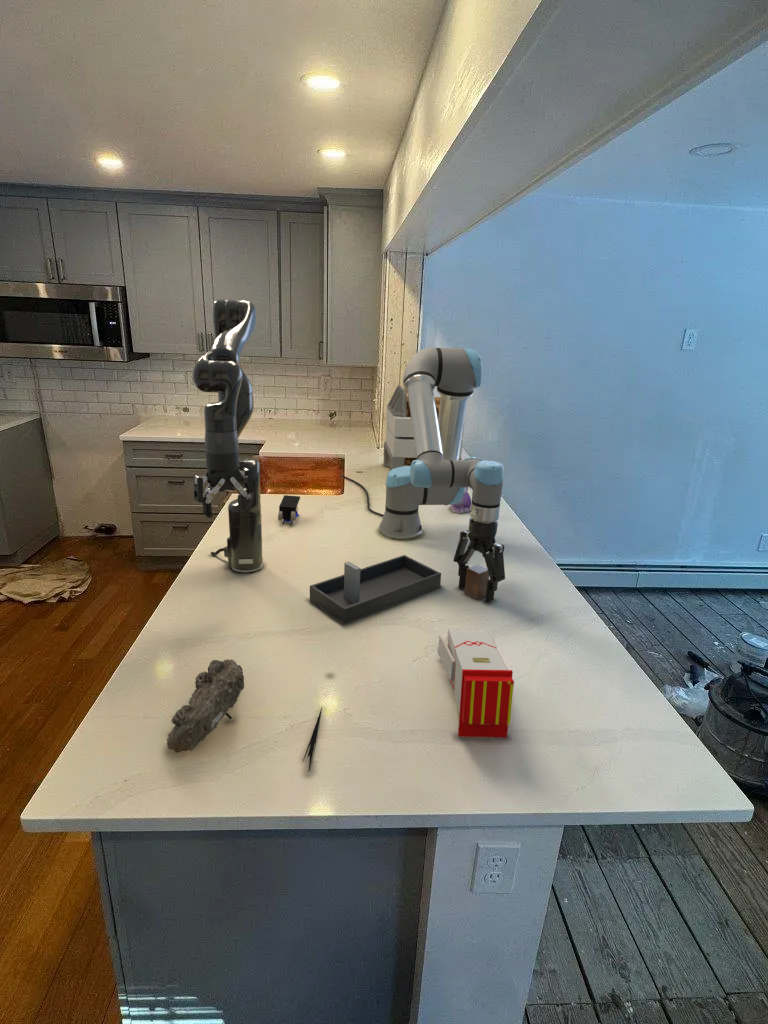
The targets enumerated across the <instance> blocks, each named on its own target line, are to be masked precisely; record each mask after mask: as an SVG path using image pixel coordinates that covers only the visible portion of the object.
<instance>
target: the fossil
mask: <svg viewBox="0 0 768 1024" xmlns="http://www.w3.org/2000/svg"><path fill="white" fill-rule="evenodd" d="M243 670H244V669H243V667H242V665H240V664H237V662H236V661H235V660H234V659H232V658H231V659H227V658H226V659H224V660H223V661H222V660H217V659H212V660H211V661H210V663H209V665H208V666H207V671H201V672H199V673H198V674H197V675H196V676H195V680H194V684H195V685H194V687H195V689H194V690H193V693H192V694H191V697H190V698H189V700H188V704H184V705H182V706H181V707H180V709H177V710H176V711H175V713H174V715H173V716H172V718H171V723H172V724H173V727H172V730H171V731H170V732H168V734H167V738H166V741H167V742H166V745H167V749H168V750H169V751H173V752H174V753H176V754H178V753H182V752H188V751H189V752H192V751H193V750H195V748H196V747H197V746H199V744H200V743H201V742H203V741H204V740H205V739H206V738H207V737H208V736H209V735H210V734H211V733H212V732H214V730H215V729H217V727H218V726H219V724H220V722H221V721H222V720H223V719H224V718H225V716H226V717H227V719H229V720H233V717H232V715H230V714H229V710H230V709H231V708H234V706H235V704H236V703H237V702H238V699H239V697H240V695H241V693H242V691H243V690H245V689H244V688H245V675H244V671H243Z"/></svg>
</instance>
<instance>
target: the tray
mask: <svg viewBox="0 0 768 1024" xmlns="http://www.w3.org/2000/svg"><path fill="white" fill-rule="evenodd" d="M343 564H344V565H343V566H344V568H343V571H344V572H343V574H341V575H338V576H335V577H331V578H329V579H326V580H323V581H319V582H317V583H314V584H311V585H309V601H310V602H312V603H313V604H315V605H316V606H318V607H319V608H320V609H322V610H323V611H325V612H326V613H328V614H329V615H330V616H332V617H333V618H334V619H336V620H337V621H339V622H340V623H342V624H343V625H347V624H349V623H351V622H353V621H357V620H359V619H362V618H364V617H366V616H369V615H371V614H374V613H377V612H380V611H382V610H384V609H387V608H390V607H393V606H395V605H398V604H400V603H402V602H405V601H408V600H410V599H413V598H415V597H417V596H420V595H423V594H426V593H428V592H431V591H433V590H437V589H438V588H440V587H441V582H442V573H441V572H440V571H437V570H435V569H434V568H432V567H430V566H427V565H426V564H424V563H422V562H420V561H417V560H416V559H415V558H412V557H409V556H408V555H406V554H403V555H400V556H397V557H393V558H390V559H388V560H384V561H382V562H378V563H375V564H372V565H369V566H366V567H363V568H361V567H359V566H357V565H356V564H354V563H353V562H350V561H346V562H344V563H343Z"/></svg>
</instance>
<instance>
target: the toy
mask: <svg viewBox="0 0 768 1024" xmlns="http://www.w3.org/2000/svg"><path fill="white" fill-rule="evenodd" d="M446 640H447V643H446V641H445V639H444V636H443V635H442V634H439V637H438V646H437V656H438V657H439V659H440V661H441V663H442V666H443V668H444V670H445V672H446V674H447V677H448V679H449V681H450V684H451V687H452V690H453V693H454V697H455V701H456V705H457V708H458V711H459V714H458V715H459V716H458V730H457V731H458V732H457V737H458V738H508V731H509V726H510V725H511V717H512V707H513V697H514V696H513V695H514V684H515V680H514V679H513V673H514V671H513V670H512V669H508V667H507V665H506V662H505V661H504V659H503V658H502V655H501V653H500V651H499V649H498V647H497V643H496V639H495V637H494V635H493V634H491V632H490V631H489V629H467V628H466V629H465V628H463V629H461V628H460V629H459V628H448V630H447V639H446Z"/></svg>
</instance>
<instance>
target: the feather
mask: <svg viewBox="0 0 768 1024" xmlns="http://www.w3.org/2000/svg"><path fill="white" fill-rule="evenodd" d="M329 675H330V676H331V675H332V674H331V673H330V674H329ZM322 710H323V707H321V708H320V710H319V713H318V716H317V719H316V723H315V725H314V728H313V731H312V733H311V737H310V739H309V742H308V745H307V748H306V751H305V754H304V757H303V760H302V763H301V767H302V765H303V763H304V761H305V758H308V759H309V760H308V762H307V763H308V764H307V766H308V771H310V770H311V766H312V765H311V764H312V760H313V757H315V756H314V755H315V751H316V749H315V746H317V739H318V733H319V729H320V722H321V717H322V712H323V711H322ZM313 754H314V755H313ZM306 755H307V757H306Z"/></svg>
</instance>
